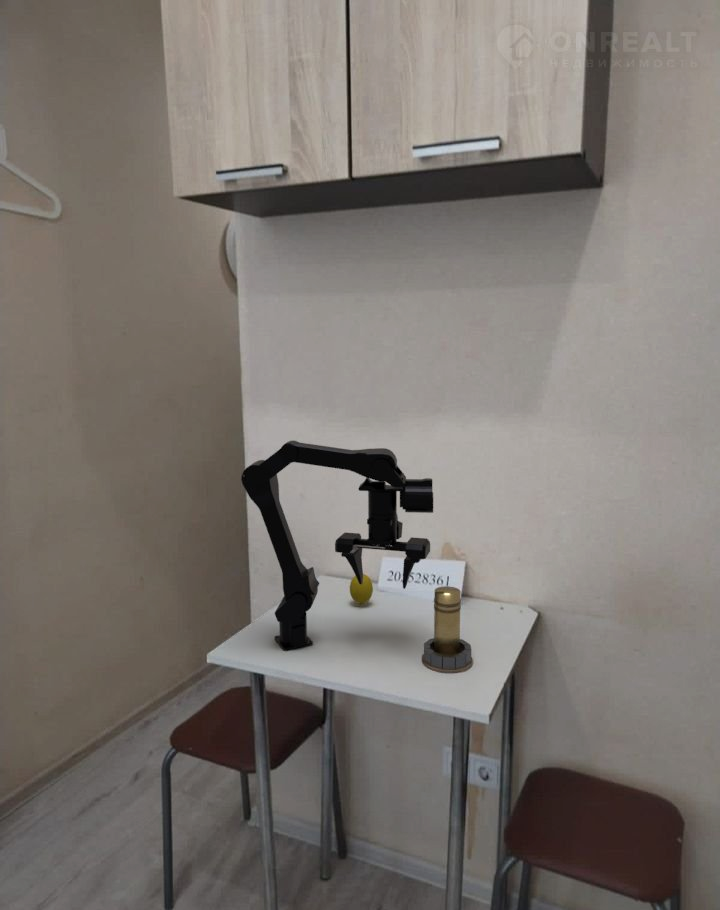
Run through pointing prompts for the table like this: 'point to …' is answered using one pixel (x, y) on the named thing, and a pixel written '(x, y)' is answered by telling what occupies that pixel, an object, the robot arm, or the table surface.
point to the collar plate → (446, 670)
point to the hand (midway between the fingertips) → (382, 585)
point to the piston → (447, 620)
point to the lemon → (361, 589)
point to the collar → (447, 656)
